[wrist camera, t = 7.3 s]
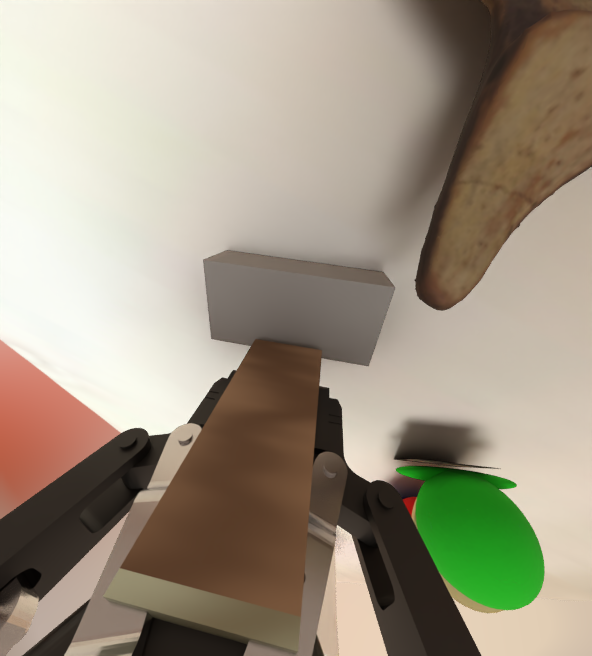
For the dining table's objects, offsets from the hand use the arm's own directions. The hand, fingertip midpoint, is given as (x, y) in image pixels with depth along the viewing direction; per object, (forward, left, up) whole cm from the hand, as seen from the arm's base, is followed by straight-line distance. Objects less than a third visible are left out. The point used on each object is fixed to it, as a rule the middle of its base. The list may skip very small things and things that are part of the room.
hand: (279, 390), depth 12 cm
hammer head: (0, -4, -5) cm, 6 cm away
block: (0, 0, -2) cm, 2 cm away
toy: (-15, +13, -5) cm, 20 cm away
